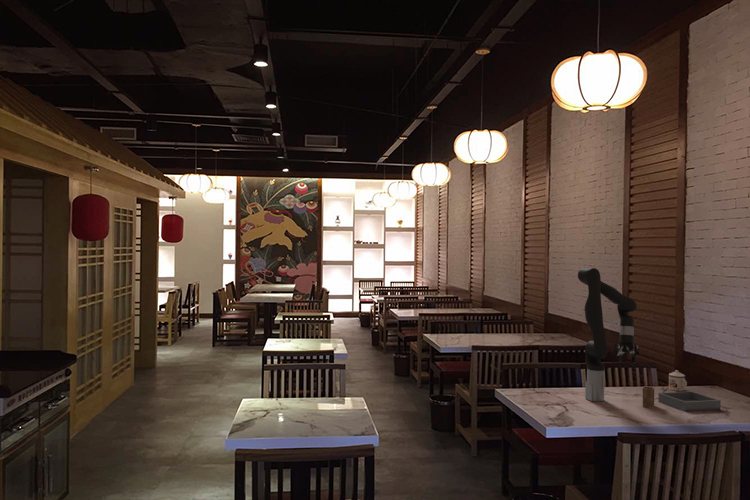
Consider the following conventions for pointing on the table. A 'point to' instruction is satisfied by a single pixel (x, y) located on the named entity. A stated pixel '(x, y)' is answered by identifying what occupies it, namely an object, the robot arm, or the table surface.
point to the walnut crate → (648, 397)
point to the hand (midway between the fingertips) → (626, 363)
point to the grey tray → (689, 401)
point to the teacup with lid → (677, 381)
